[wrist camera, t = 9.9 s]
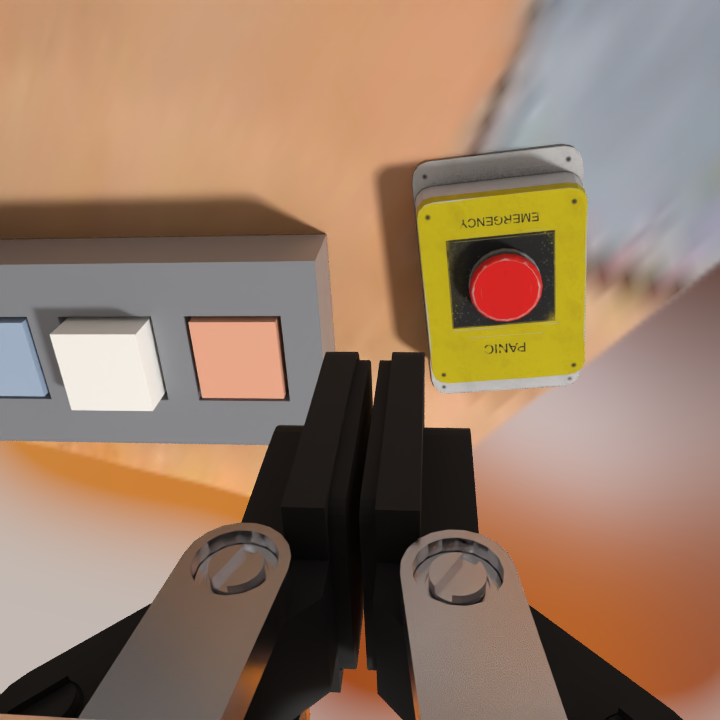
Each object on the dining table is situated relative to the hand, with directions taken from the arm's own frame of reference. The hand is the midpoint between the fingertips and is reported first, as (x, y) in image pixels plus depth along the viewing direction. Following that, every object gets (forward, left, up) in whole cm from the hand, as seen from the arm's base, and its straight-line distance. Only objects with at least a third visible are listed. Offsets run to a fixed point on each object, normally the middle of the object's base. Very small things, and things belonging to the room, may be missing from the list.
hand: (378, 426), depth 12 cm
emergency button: (+9, +5, -30) cm, 31 cm away
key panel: (+12, -18, -29) cm, 36 cm away
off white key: (+12, -18, -26) cm, 34 cm away
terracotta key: (+12, -10, -27) cm, 32 cm away
